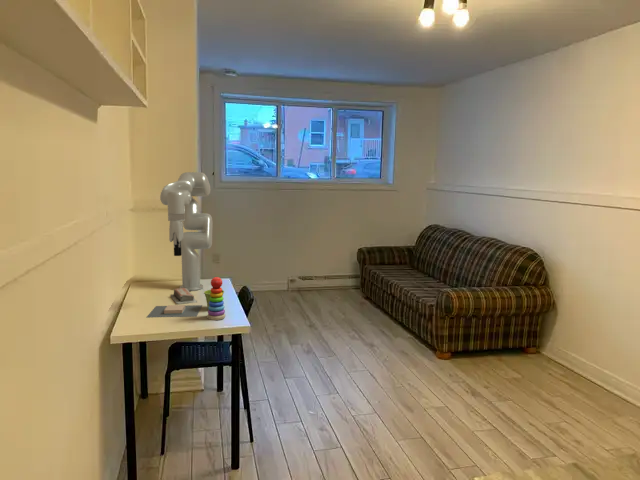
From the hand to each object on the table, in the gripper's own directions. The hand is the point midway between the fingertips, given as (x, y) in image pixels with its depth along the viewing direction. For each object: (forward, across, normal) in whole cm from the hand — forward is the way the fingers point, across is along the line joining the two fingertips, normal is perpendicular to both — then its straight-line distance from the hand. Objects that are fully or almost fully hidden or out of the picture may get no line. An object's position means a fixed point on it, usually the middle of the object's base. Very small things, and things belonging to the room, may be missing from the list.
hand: (177, 255), depth 229 cm
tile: (+24, +6, 0) cm, 24 cm away
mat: (+25, +9, 0) cm, 27 cm away
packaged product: (+26, -12, 0) cm, 28 cm away
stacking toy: (+25, +20, +20) cm, 38 cm away
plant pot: (+25, +7, +17) cm, 31 cm away
